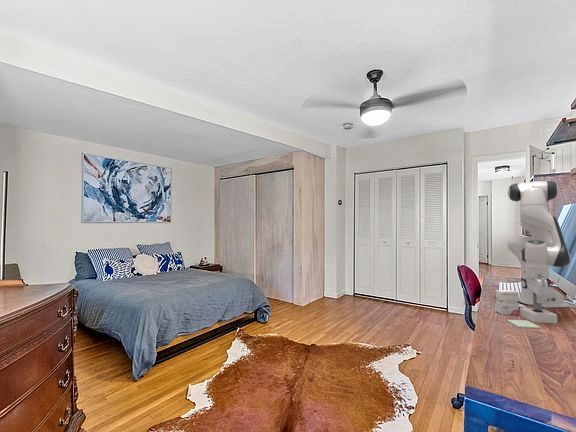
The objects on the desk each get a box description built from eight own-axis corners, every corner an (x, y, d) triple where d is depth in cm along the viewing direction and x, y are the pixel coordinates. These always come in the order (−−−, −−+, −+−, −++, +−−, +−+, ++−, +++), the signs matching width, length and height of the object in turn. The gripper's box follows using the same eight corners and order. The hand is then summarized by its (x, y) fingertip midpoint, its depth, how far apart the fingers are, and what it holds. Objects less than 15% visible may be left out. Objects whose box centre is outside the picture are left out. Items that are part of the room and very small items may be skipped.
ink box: (513, 312, 153) (512, 289, 153) (519, 315, 148) (519, 292, 149) (495, 311, 154) (495, 289, 154) (501, 314, 149) (501, 291, 149)
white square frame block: (541, 316, 146) (541, 308, 146) (557, 323, 136) (557, 314, 136) (520, 315, 147) (519, 307, 148) (533, 322, 138) (533, 313, 138)
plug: (541, 314, 143) (540, 294, 143) (543, 316, 140) (542, 295, 140) (532, 313, 144) (532, 293, 144) (534, 315, 141) (534, 295, 141)
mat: (527, 321, 138) (527, 320, 138) (540, 328, 130) (540, 327, 130) (506, 321, 140) (506, 319, 140) (518, 327, 131) (518, 326, 131)
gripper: (552, 277, 132) (553, 308, 131) (538, 270, 150) (539, 297, 149) (534, 276, 135) (535, 306, 134) (523, 269, 153) (524, 296, 152)
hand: (537, 301), depth 142 cm, fingers closed on plug, 3 cm apart
